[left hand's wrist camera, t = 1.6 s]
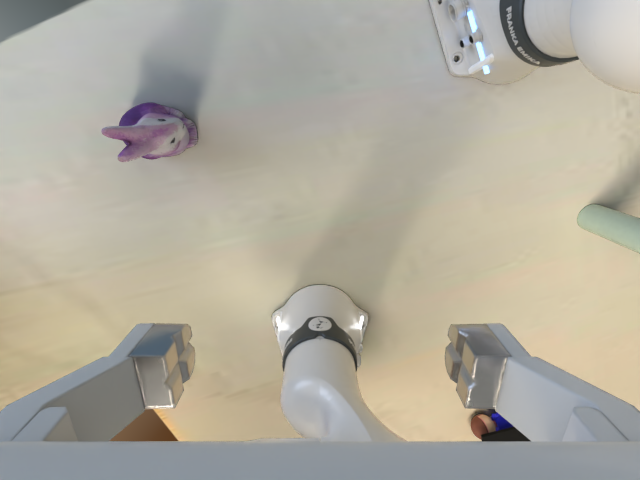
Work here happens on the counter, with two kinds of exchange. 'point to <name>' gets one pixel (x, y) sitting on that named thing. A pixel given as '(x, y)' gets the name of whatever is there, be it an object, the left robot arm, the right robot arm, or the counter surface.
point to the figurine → (153, 132)
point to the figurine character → (495, 429)
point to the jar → (611, 225)
